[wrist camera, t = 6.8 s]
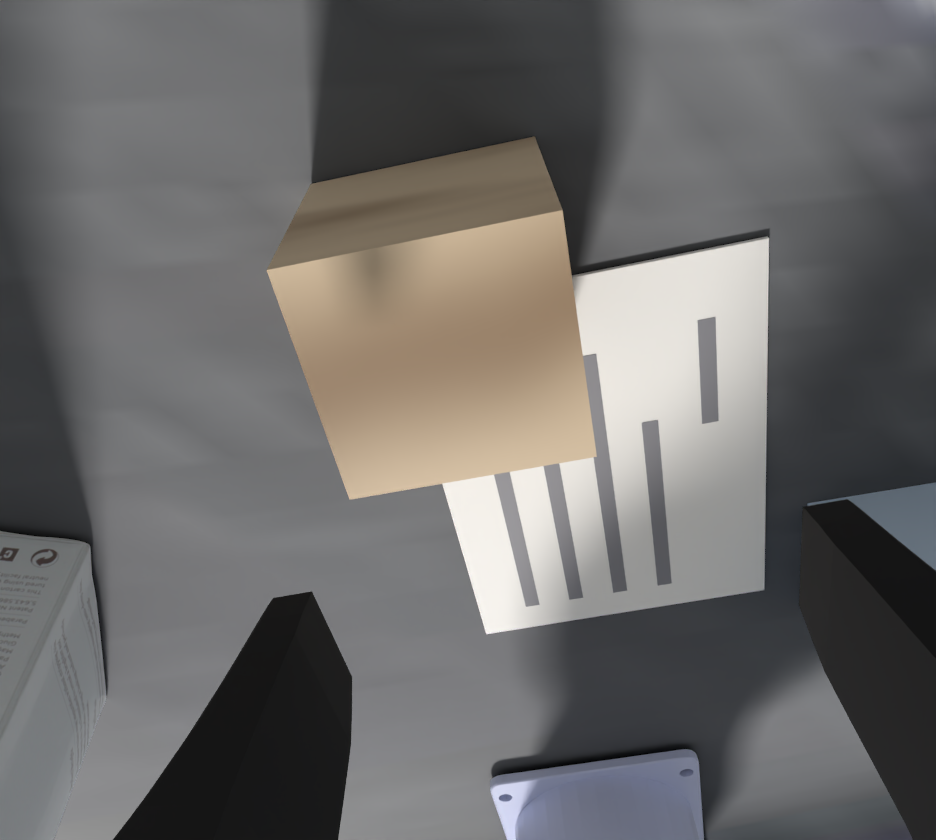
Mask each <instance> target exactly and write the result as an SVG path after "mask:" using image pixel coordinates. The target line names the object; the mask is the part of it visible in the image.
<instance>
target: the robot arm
mask: <svg viewBox="0 0 936 840" xmlns="http://www.w3.org/2000/svg"><path fill="white" fill-rule="evenodd" d="M799 606H800V609H801V611H802V614H803V617H804V619H805V622H806V625H807V627H808V630H809V633H810V635H811V638H812V641H813V643H814V646H815V648H816V651H817V653H818V656H819V658H820V661H821V663H822V666H823V668H824V671H825V673H826V675H827V677H828V679H829V681H830V683H831V684H832V686H833V688H834V690H835V692H836V694H837V696H838V698H839V700H840V702H841V704H842V705H843V707H844V709H845V711H846V713H847V715H848V717H849V719H850V721H851V723H852V724H853V726H854V728H855V730H856V732H857V734H858V736H859V738H860V739H861V741H862V743H863V745H864V747H865V749H866V751H867V753H868V754H869V756H870V758H871V760H872V762H873V764H874V766H875V768H876V769H877V771H878V773H879V775H880V777H881V779H882V781H883V783H884V784H885V786H886V788H887V790H888V792H889V794H890V796H891V798H892V799H893V801H894V803H895V805H896V807H897V809H898V811H899V813H900V814H901V816H902V818H903V820H904V822H905V824H906V826H907V828H908V830H909V832H910V834H911V836H912V838H913V840H936V570H934V569H933V568H932V567H931V566H929V565H928V564H927V563H926V562H924V561H923V560H922V559H921V558H920V557H918V556H917V555H916V554H915V553H913V552H912V551H911V550H910V549H908V548H907V547H906V546H905V545H903V544H902V543H901V542H900V541H899V540H897V539H896V538H895V537H894V536H892V535H891V534H890V533H889V532H888V531H886V530H885V529H884V528H883V527H882V526H880V525H879V524H878V523H877V522H876V521H874V520H873V519H872V518H871V517H870V516H868V515H867V514H866V513H865V512H864V511H862V510H861V509H860V508H859V507H858V506H856V505H855V504H854V503H852V502H851V501H849V500H848V499H845V500H839V501H833V502H828V503H822V504H816V505H810V506H804V507H803V515H802V542H801V568H800V595H799ZM351 722H352V676H351V674H350V672H349V670H348V667H347V665H346V663H345V661H344V659H343V657H342V655H341V653H340V650H339V648H338V646H337V644H336V642H335V640H334V638H333V636H332V633H331V631H330V629H329V627H328V625H327V623H326V621H325V619H324V616H323V614H322V612H321V610H320V608H319V606H318V604H317V602H316V599H315V597H314V595H313V593H312V592H306V593H301V594H295V595H289V596H283V597H277V598H273V599H272V601H271V602H270V603H269V605H268V607H267V608H266V610H265V611H264V613H263V615H262V616H261V618H260V620H259V621H258V623H257V625H256V626H255V628H254V630H253V631H252V633H251V635H250V636H249V638H248V640H247V642H246V643H245V645H244V647H243V648H242V650H241V652H240V653H239V655H238V657H237V658H236V660H235V662H234V663H233V665H232V667H231V668H230V670H229V671H228V673H227V675H226V676H225V678H224V680H223V681H222V683H221V685H220V686H219V688H218V689H217V691H216V692H215V694H214V696H213V697H212V699H211V700H210V702H209V704H208V705H207V707H206V708H205V710H204V711H203V713H202V715H201V716H200V718H199V719H198V721H197V722H196V724H195V726H194V727H193V729H192V730H191V732H190V733H189V735H188V736H187V738H186V739H185V741H184V742H183V744H182V745H181V747H180V748H179V750H178V751H177V752H176V754H175V755H174V757H173V758H172V760H171V761H170V763H169V764H168V765H167V767H166V768H165V770H164V771H163V773H162V774H161V776H160V777H159V778H158V780H157V781H156V783H155V784H154V786H153V787H152V789H151V790H150V791H149V793H148V794H147V795H146V797H145V798H144V800H143V801H142V802H141V804H140V805H139V806H138V808H137V809H136V810H135V812H134V813H133V814H132V816H131V817H130V818H129V820H128V821H127V822H126V824H125V825H124V826H123V827H122V829H121V830H120V831H119V833H118V834H117V835H116V836H115V838H114V839H113V840H338V835H339V828H340V821H341V814H342V807H343V800H344V792H345V785H346V778H347V770H348V763H349V755H350V747H351ZM490 792H491V794H492V797H493V800H494V803H495V806H496V809H497V812H498V815H499V817H500V820H501V823H502V826H503V829H504V832H505V835H506V838H507V840H704V831H703V816H702V801H701V787H700V772H699V761H698V758H697V755H696V753H695V752H694V751H692V750H689V749H681V750H674V751H666V752H659V753H652V754H645V755H638V756H631V757H624V758H617V759H610V760H603V761H596V762H588V763H581V764H574V765H567V766H560V767H553V768H546V769H539V770H532V771H525V772H518V773H511V774H503V775H498V776H496V777H494V778H492V780H491V781H490Z"/></svg>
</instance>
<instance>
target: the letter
mask: <svg viewBox="0 0 936 840" xmlns="http://www.w3.org/2000/svg"><path fill="white" fill-rule="evenodd" d="M768 280H769V238H768V237H767V236H766V237H761V238H756V239H751V240H746V241H741V242H736V243H731V244H726V245H721V246H716V247H711V248H706V249H701V250H696V251H691V252H686V253H681V254H676V255H671V256H666V257H661V258H656V259H651V260H646V261H641V262H636V263H631V264H626V265H621V266H616V267H611V268H607V269H602V270H597V271H592V272H587V273H582V274H577V275H572V282H573V289H574V296H575V303H576V310H577V318H578V325H579V332H580V339H581V346H582V353H583V361H584V368H585V375H586V382H587V389H588V397H589V404H590V411H591V418H592V425H593V432H594V440H595V447H596V454H597V457H593V458H587V459H581V460H575V461H569V462H564V463H558V464H552V465H546V466H541V467H535V468H529V469H523V470H518V471H512V472H506V473H500V474H495V475H489V476H483V477H477V478H471V479H466V480H460V481H454V482H448V483H443V487H444V491H445V494H446V498H447V501H448V504H449V508H450V511H451V515H452V518H453V522H454V525H455V528H456V532H457V535H458V539H459V542H460V545H461V549H462V552H463V556H464V559H465V563H466V566H467V569H468V573H469V576H470V580H471V583H472V587H473V590H474V593H475V597H476V600H477V604H478V607H479V610H480V614H481V617H482V621H483V624H484V628H485V631H486V634H490V633H496V632H503V631H509V630H515V629H522V628H528V627H534V626H541V625H547V624H553V623H560V622H566V621H572V620H578V619H585V618H591V617H597V616H604V615H610V614H616V613H623V612H629V611H635V610H642V609H648V608H654V607H660V606H667V605H673V604H679V603H686V602H692V601H698V600H705V599H711V598H717V597H724V596H730V595H736V594H742V593H749V592H755V591H761V590H764V581H765V506H766V430H767V355H768Z"/></svg>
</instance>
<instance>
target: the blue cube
mask: <svg viewBox="0 0 936 840" xmlns="http://www.w3.org/2000/svg"><path fill="white" fill-rule="evenodd" d="M845 499H848V500H849V501H851V502H852V503H854V504H855V505H856V506H858V507H859V508H860V509H861V510H862V511H864V512H865V513H866V514H867V515H868V516H870V517H871V518H872V519H873V520H874V521H876V522H877V523H878V524H879V525H880V526H882V527H883V528H884V529H885V530H886V531H888V532H889V533H890V534H891V535H892V536H894V537H895V538H896V539H897V540H899V541H900V542H901V543H902V544H903V545H905V546H906V547H907V548H908V549H910V550H911V551H912V552H913V553H915V554H916V555H917V556H918V557H920V558H921V559H922V560H923V561H924V562H926V563H927V564H928V565H929V566H931V567H932V568H933V569H934V570H936V483H929V484H923V485H917V486H911V487H905V488H899V489H893V490H886V491H880V492H874V493H868V494H862V495H856V496H850V497H843V498H837V499H831V500H825V501H819V502H813V503H807V506H810V505H816V504H822V503H828V502H833V501H839V500H845Z"/></svg>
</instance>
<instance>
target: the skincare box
mask: <svg viewBox="0 0 936 840" xmlns="http://www.w3.org/2000/svg"><path fill="white" fill-rule="evenodd" d="M105 702H106V685H105V675H104V666H103V655H102V645H101V636H100V627H99V618H98V609H97V600H96V594H95V588H94V583H93V578H92V567H91V549H90V545H89V544H87V543H85V542H82V541H77V540H71V539H64V538H54V537H38V536H30V535H22V534H15V533H9V532H2V531H0V840H54V838H55V835H56V833H57V830H58V827H59V825H60V822H61V819H62V816H63V814H64V811H65V808H66V806H67V803H68V800H69V797H70V795H71V792H72V789H73V786H74V784H75V781H76V778H77V776H78V773H79V770H80V768H81V765H82V762H83V760H84V757H85V754H86V751H87V749H88V746H89V743H90V741H91V738H92V735H93V733H94V730H95V727H96V724H97V722H98V719H99V716H100V714H101V711H102V708H103V706H104V704H105Z"/></svg>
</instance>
